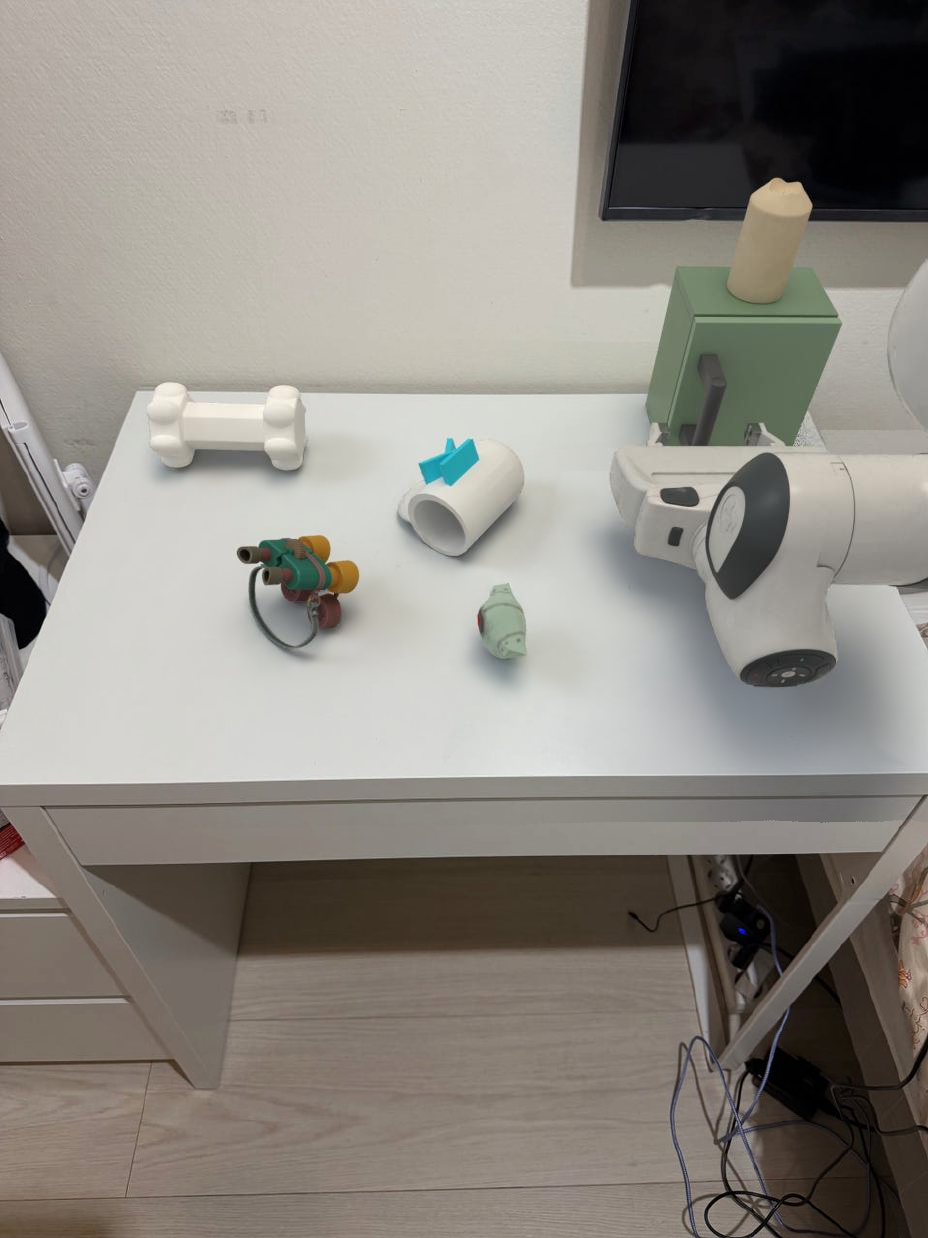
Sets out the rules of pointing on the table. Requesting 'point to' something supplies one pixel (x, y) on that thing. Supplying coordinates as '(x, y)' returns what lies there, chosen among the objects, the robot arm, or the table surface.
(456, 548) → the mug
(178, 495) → the table surface
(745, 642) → the robot arm
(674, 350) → the cabinet
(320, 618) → the binoculars
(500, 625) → the robot head
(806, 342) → the door
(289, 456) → the dog bone
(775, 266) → the candle
